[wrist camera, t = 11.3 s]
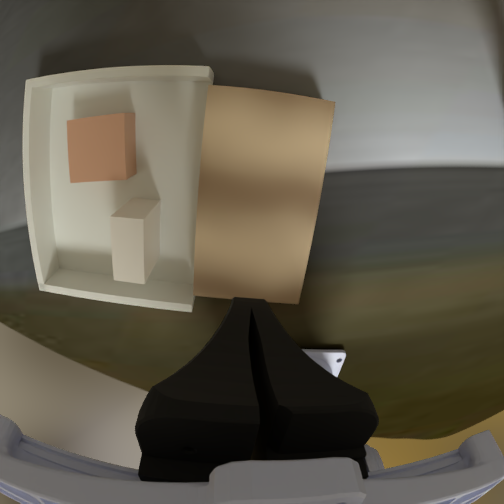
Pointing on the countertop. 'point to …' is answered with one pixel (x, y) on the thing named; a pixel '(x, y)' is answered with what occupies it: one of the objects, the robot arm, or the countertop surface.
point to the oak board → (258, 192)
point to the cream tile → (135, 239)
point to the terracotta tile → (102, 148)
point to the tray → (116, 191)
